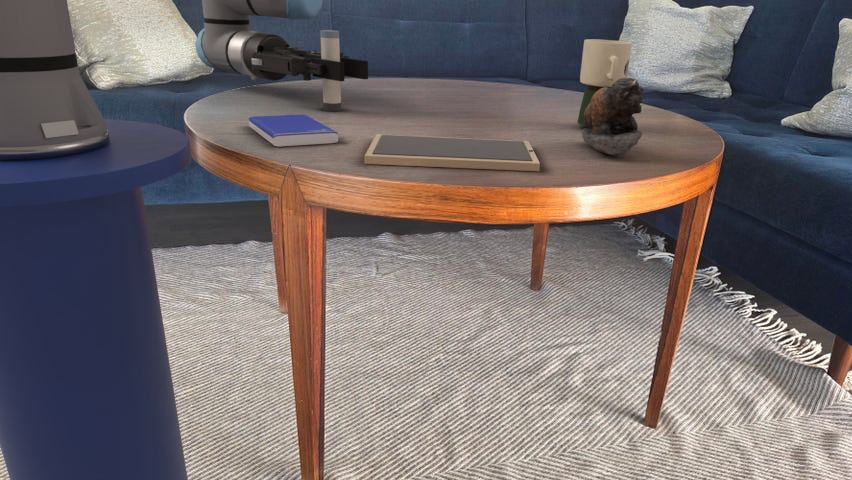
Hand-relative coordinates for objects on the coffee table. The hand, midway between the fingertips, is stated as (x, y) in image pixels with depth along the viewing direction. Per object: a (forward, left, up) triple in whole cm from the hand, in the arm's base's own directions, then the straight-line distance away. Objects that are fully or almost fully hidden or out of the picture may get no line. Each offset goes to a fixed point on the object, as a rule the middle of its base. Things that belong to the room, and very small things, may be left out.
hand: (354, 71), depth 98 cm
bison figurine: (+37, +17, -7) cm, 41 cm away
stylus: (-5, -1, -7) cm, 8 cm away
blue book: (+10, -15, -7) cm, 19 cm away
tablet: (+29, -3, -7) cm, 30 cm away
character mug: (+25, +29, -7) cm, 39 cm away
